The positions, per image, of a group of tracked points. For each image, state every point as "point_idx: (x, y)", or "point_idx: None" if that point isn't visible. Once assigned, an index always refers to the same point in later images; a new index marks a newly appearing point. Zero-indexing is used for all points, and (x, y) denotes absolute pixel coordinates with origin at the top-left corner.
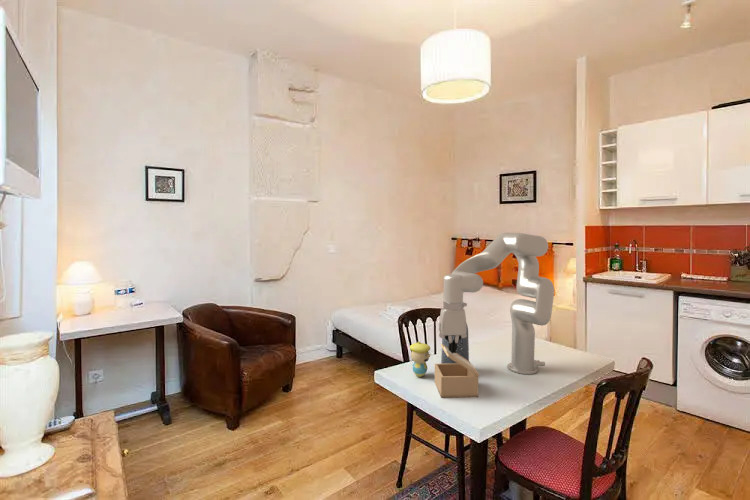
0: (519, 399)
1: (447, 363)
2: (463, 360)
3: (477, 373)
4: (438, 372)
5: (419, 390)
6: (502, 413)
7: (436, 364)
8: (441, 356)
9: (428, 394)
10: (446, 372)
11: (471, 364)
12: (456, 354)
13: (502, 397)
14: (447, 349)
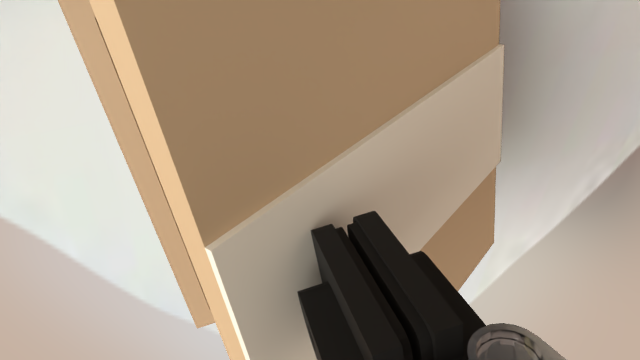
0: (594, 143)
1: None
2: (437, 180)
3: (485, 251)
4: (152, 216)
5: (8, 165)
6: (472, 291)
7: (87, 20)
8: None
9: (98, 209)
10: None
11: (494, 70)
12: (388, 72)
13: (528, 140)
14: (276, 275)
